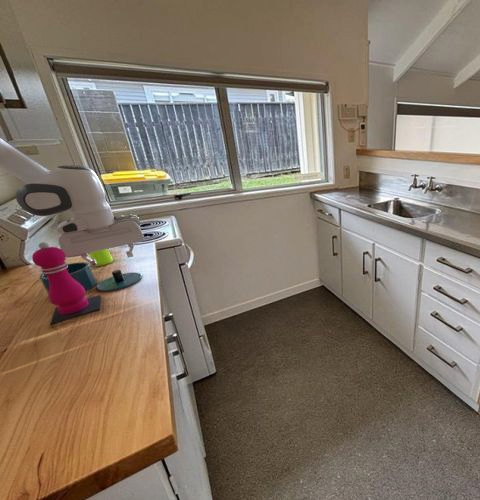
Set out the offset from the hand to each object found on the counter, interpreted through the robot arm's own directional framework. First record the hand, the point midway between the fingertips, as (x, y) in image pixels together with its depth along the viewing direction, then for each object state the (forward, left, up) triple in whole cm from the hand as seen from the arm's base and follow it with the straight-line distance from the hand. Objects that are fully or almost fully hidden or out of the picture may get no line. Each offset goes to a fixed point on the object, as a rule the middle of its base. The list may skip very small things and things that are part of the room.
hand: (113, 260), depth 92 cm
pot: (-12, +5, -8) cm, 16 cm away
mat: (-10, -12, -8) cm, 18 cm away
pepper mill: (-11, -12, -8) cm, 18 cm away
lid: (0, 0, -8) cm, 8 cm away
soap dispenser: (-5, +27, -9) cm, 29 cm away
